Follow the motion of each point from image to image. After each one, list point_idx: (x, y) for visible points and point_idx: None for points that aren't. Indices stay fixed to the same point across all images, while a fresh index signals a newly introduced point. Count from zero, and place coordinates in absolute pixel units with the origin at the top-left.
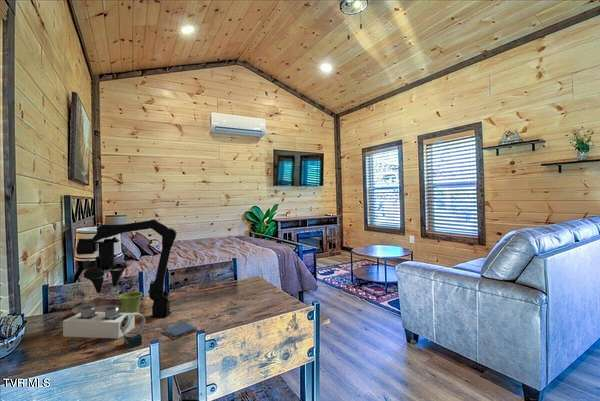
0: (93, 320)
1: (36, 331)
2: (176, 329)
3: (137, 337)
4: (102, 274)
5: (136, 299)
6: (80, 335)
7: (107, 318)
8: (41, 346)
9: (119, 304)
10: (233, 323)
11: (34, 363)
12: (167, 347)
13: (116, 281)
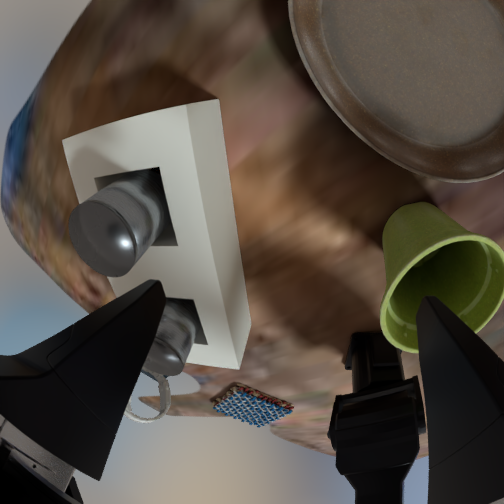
0: None
1: None
2: (242, 408)
3: (151, 377)
4: (66, 491)
5: (403, 331)
6: None
7: None
8: (53, 133)
9: None
10: (306, 444)
11: (25, 211)
12: (179, 396)
13: (423, 383)
